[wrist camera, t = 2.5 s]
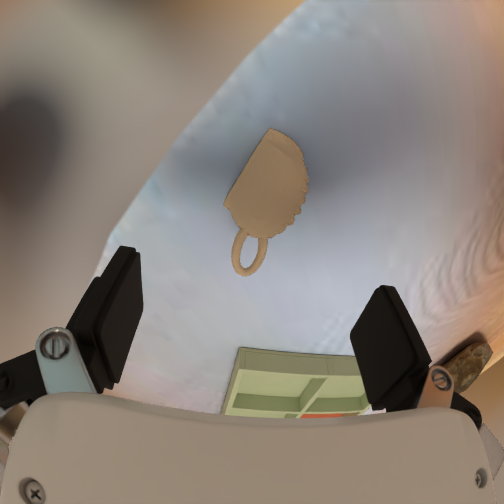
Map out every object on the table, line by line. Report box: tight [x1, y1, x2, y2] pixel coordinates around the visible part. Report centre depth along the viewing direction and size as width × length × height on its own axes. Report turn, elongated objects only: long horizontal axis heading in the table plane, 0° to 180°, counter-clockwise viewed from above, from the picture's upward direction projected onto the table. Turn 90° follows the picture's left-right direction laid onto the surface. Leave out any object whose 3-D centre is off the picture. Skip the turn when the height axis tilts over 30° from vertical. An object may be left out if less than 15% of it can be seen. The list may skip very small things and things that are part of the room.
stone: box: [442, 342, 493, 394], centre depth 33 cm, size 13×8×8 cm
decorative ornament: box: [224, 128, 309, 276], centre depth 18 cm, size 4×8×5 cm, turn 148°
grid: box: [221, 347, 371, 418], centre depth 36 cm, size 21×21×3 cm
